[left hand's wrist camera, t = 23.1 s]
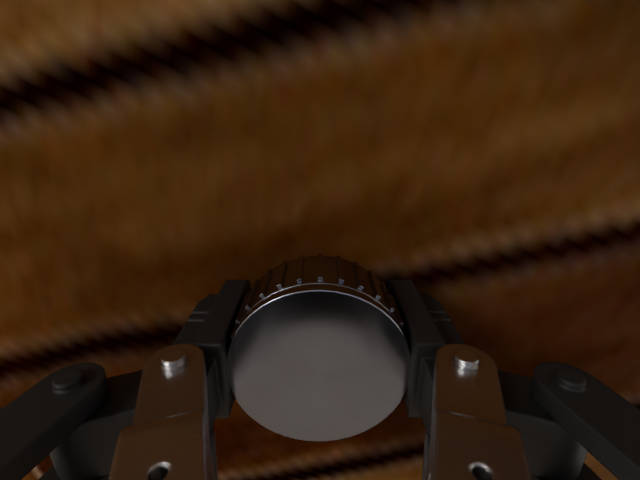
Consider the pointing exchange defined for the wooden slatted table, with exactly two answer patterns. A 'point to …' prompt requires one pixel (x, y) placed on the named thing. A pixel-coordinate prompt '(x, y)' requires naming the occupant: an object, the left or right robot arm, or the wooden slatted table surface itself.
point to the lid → (318, 350)
